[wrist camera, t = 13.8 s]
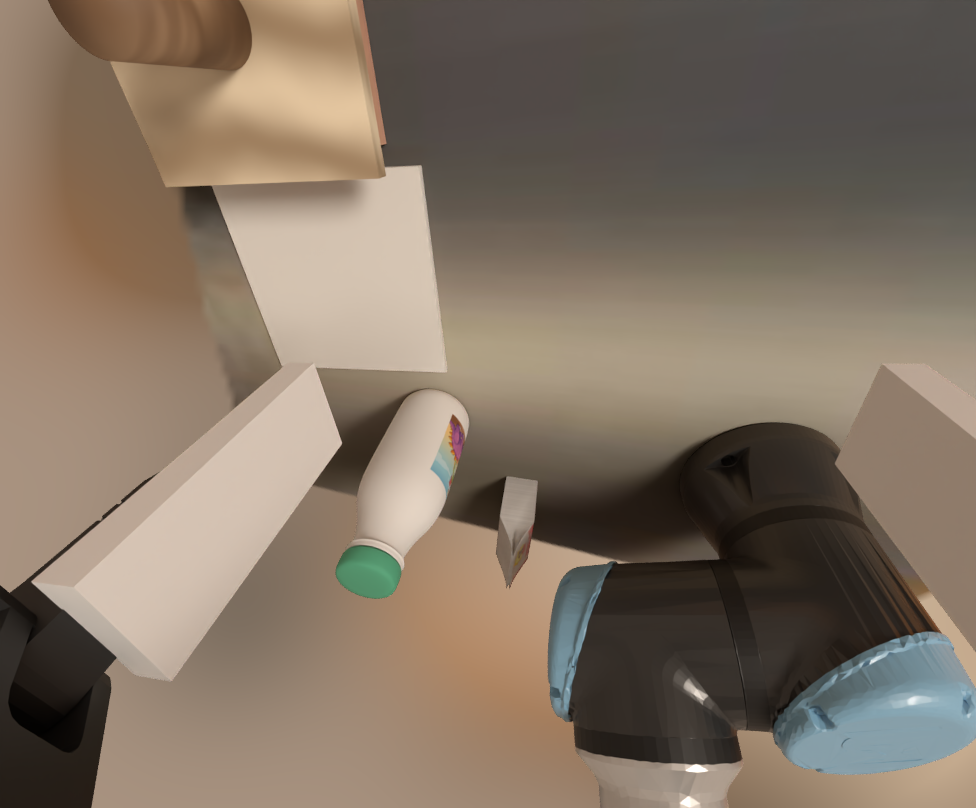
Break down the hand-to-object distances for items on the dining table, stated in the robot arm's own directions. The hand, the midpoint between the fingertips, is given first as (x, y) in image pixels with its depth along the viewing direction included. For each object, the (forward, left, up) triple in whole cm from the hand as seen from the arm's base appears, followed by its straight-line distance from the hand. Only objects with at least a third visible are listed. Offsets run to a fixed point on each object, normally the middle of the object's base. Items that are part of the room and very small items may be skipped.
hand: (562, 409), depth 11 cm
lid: (+11, +20, -22) cm, 32 cm away
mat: (-6, +20, -27) cm, 34 cm away
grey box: (-33, +4, -27) cm, 43 cm away
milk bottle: (-21, +13, -27) cm, 37 cm away
